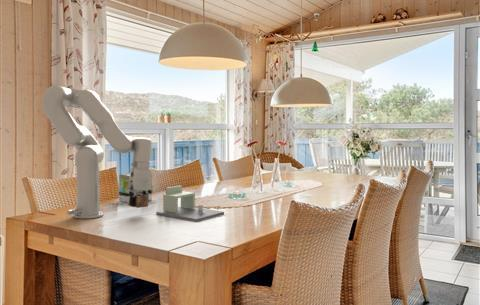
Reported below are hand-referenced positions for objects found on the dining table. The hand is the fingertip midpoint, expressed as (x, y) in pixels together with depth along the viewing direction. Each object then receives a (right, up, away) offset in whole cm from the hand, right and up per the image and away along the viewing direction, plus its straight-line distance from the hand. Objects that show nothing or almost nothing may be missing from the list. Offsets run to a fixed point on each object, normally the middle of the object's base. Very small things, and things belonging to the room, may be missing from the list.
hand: (138, 204), depth 186 cm
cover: (+17, -3, +9) cm, 20 cm away
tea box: (-11, -3, +39) cm, 41 cm away
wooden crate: (0, -1, 0) cm, 1 cm away
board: (+23, -5, +5) cm, 24 cm away
